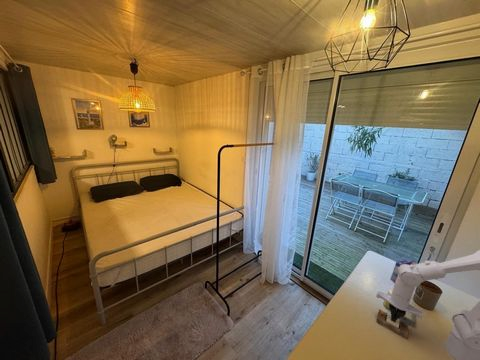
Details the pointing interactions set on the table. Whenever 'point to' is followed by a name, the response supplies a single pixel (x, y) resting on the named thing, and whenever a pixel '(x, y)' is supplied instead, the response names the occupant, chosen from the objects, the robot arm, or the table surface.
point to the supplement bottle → (385, 303)
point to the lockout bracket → (408, 320)
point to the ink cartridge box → (395, 272)
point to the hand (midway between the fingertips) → (393, 319)
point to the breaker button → (388, 319)
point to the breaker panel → (402, 325)
